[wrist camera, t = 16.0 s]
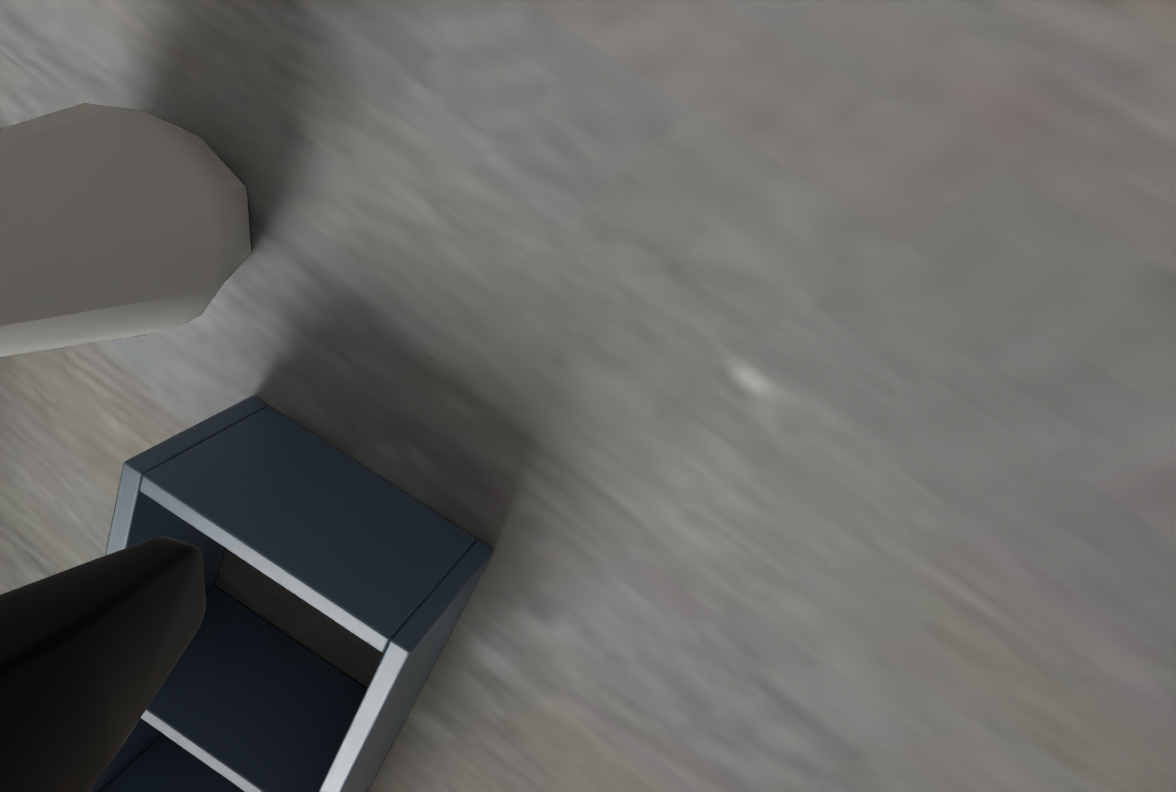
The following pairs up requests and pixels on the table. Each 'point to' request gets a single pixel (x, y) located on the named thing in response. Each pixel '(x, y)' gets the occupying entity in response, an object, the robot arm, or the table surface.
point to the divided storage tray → (309, 570)
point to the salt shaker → (111, 227)
